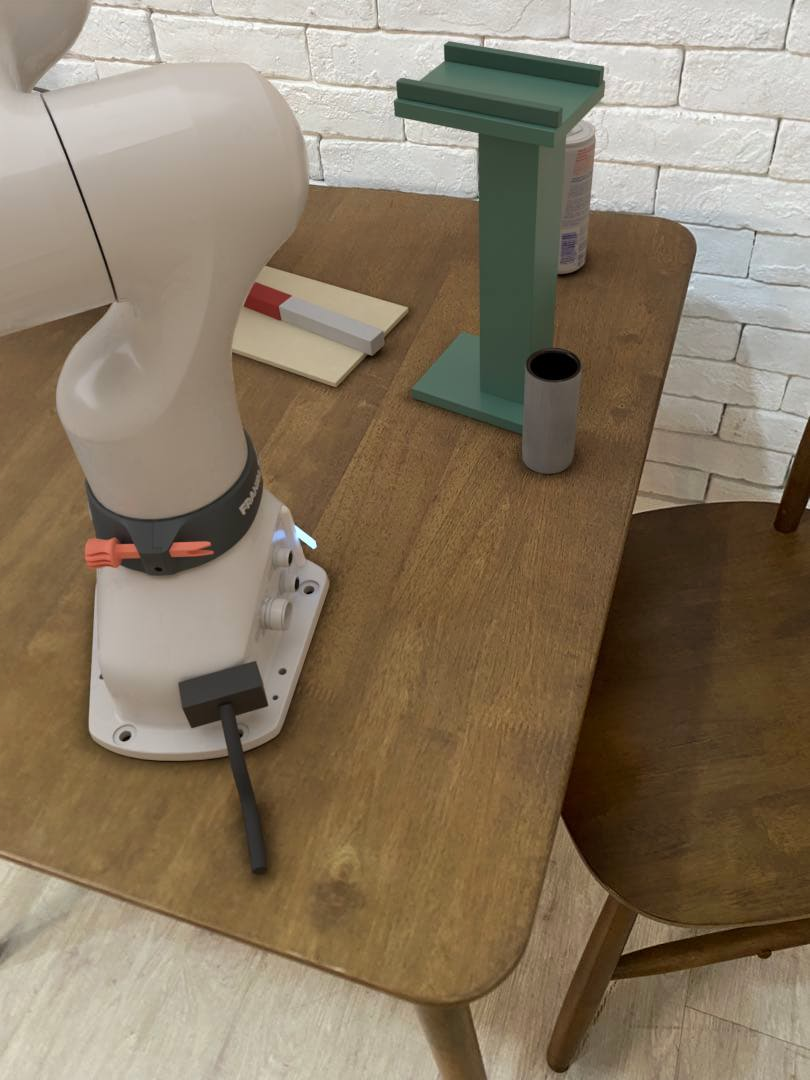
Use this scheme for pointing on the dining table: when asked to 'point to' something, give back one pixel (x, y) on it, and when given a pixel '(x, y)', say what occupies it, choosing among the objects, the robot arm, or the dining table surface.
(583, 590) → the dining table surface
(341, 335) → the bar magnet
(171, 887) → the dining table surface
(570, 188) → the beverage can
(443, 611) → the dining table surface
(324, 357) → the mat
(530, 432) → the gray cylindrical cup
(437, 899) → the dining table surface
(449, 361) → the stand
